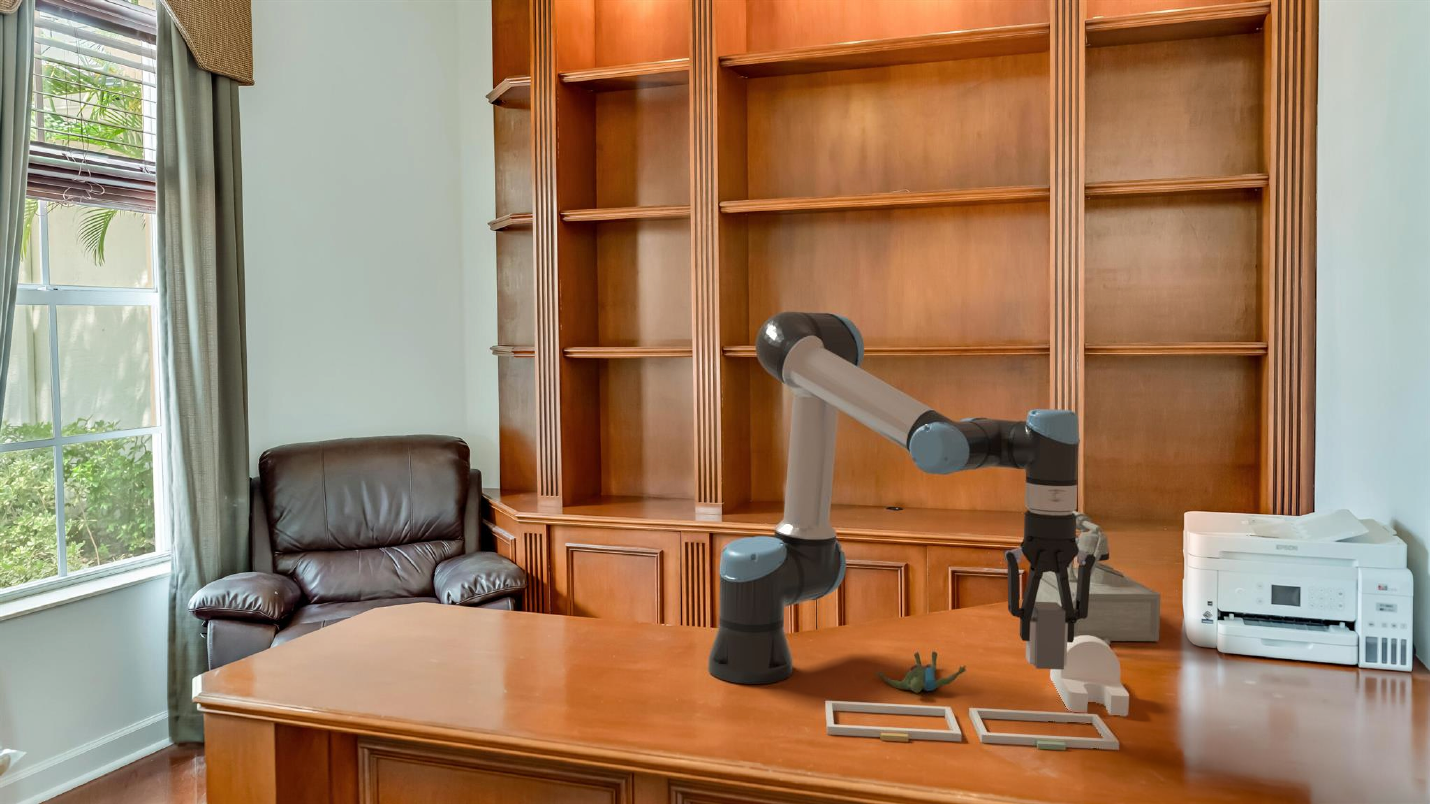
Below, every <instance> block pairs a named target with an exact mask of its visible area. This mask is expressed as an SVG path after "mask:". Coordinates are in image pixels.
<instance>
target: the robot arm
mask: <svg viewBox="0 0 1430 804" xmlns="http://www.w3.org/2000/svg"><path fill="white" fill-rule="evenodd" d="M756 334H757V335H756V339H755V353H756V354H755V355H756V357H757V360H758V362H759V364H760V365H761V367H762V368H763V369H764V370H765V371H766V372H767V373H768V374H770V375H771V376H772V377H773V378H775V379H777V380H778V381H780V382H782V383H784V384H785V385H786V386H787V387H788V389H789V390H790V391H791V392H792V394H793V396H792V408H791V418H790V419H791V420H790V433H789V434H790V435H789V445H788V446H789V447H788V459H787V474H786V485H785V486H786V487H785V497H784V510H783V519H781V521H780V522H779V523H778V524H776V525H775V527H774V534H773V535H774V537H773V536H763V535H762V536H761V535H759V536H758V535H756V536H754V537H751V536H750V537H749V536H748V537H743V538H739V539H735V540H733V541H731V542H729V543H727V544H726V545H725V546H724V547H723V549H722V550H721V555H720V556H721V557H720V564H719V568H718V570H719V607H718V608H719V610H718V611H719V614H718V615H719V619H718V620H719V621H718V629H717V633H716V635H715V638H714V640H713V644H712V647H711V649H710V653H709V655H708V672H709V673H710V674H711V675H712V676H714V677H715V678H717V679H720V680H722V681H727V682H731V683H735V684H736V683H737V684H746V685H760V684H762V685H764V684H771V683H776V682H782V681H784V680H787V679H789V677H791V676H792V674H793V663H794V662H793V657H792V654H791V649H790V647H789V643H788V640H787V637H786V636H787V635H786V633H785V629H784V627H785V625H784V624H785V607H789V606H792V605H796V604H800V603H805V602H808V601H816V600H819V599H821V598H822V599H823V597H826V596H828V595H830V594H831V593H833V592H834V591H835V590H836V589H837V588H839V586H840V585H841V583H842V582H843V580H844V577H845V574H846V569H847V559H846V554H845V552H844V551H843V550H842V546H841V544H840V543H839V541H838V540H837V530H835V529H834V527H833V526H832V525H831V523H830V519H831V518H830V516H831V505H832V491H833V481H834V480H833V479H834V468H835V459H836V458H835V457H836V456H835V455H836V446H837V445H836V444H837V433H838V421H839V411H841V412H842V413H845V414H846V415H848V416H849V417H851V418H853V419H854V420H856V421H858V422H859V423H861V424H862V425H863V426H864V425H865V427H868V428H869V429H871V430H872V431H874V432H875V433H877V434H879V435H881V436H882V437H884V438H885V439H887V440H889V441H891V442H892V443H894V444H896V445H898V446H899V447H900V448H902V449H903V450H905V451H907V452H908V453H909V455H910V457H911V460H912V461H913V463H914V465H915V466H916V467H917V468H918V469H919V470H920V471H922V472H924V473H927V474H929V475H931V474H932V475H950V474H953V473H959V472H963V471H964V472H965V471H971V470H978V469H979V470H980V469H986V468H1007V469H1017V470H1025V492H1024V493H1025V495H1024V506H1025V507H1026V508H1027V509H1028V510H1026V511H1025V512H1024V518H1023V519H1024V522H1023V523H1024V525H1023V539H1022V541H1021V543H1020V545H1019V547H1017V548H1013V549H1011V550H1010V549H1005V550H1004V551H1003V553H1002V554H1003V557H1004V560H1005V562H1006V564H1007V611H1008V612H1009V613H1010V615H1011V616H1013V617H1016V618H1019V621H1020V622H1019V637H1020V639H1021V640H1022V641H1023V642H1025V660H1026V661H1027V663H1028V664H1029V665H1034V664H1035V637H1036V622H1035V621H1034V619H1033V618H1032V613H1033V609H1034V604H1035V600H1036V596H1037V592H1038V588H1039V584H1040V580H1041V578H1042V576H1043V572H1049V571H1051V572H1055V575H1056V578H1057V584H1058V589H1059V595H1060V600H1061V606H1062V608H1063V609H1064V610H1065V644H1064V665H1067V642H1071V643H1072V642H1073V640H1074V624H1075V623H1076V621H1077V620H1078V619H1085V618H1087V616H1088V604H1089V590H1090V576H1091V569H1092V567H1093V565H1094V563H1095V560H1096V557H1095V556H1094V555H1092V554H1091V553H1089V552H1084V551H1081V550H1079V548H1078V546H1077V543H1076V534H1077V529H1076V517H1077V516H1076V515H1075V514H1074V513H1072V511H1076V510H1077V507H1078V506H1077V505H1078V504H1077V502H1078V466H1079V465H1078V464H1079V450H1080V449H1079V447H1080V443H1081V439H1080V428H1079V426H1080V425H1079V417H1078V415H1077V413H1076V412H1074V411H1073V410H1068V409H1047V408H1037V409H1036V408H1035V409H1030V411H1028V413H1027V416H1026V419H1025V420H1009V419H1008V420H1007V419H996V418H987V417H982V416H981V417H966V418H963V419H961V420H960V421H956V420H953V419H950V418H949V417H947V416H946V415H944V414H942V413H939V412H938V411H936V410H935V409H933V408H931V407H930V406H929V405H926V404H924V403H922V402H921V401H919V400H918V399H915V398H914V397H912V396H910V395H908V394H906V393H905V392H903V391H901V390H900V389H898V388H896V387H894V386H892V385H891V384H889V383H887V382H886V381H884V380H882V379H880V378H878V377H876V376H875V375H873V374H871V373H869V372H867V371H866V370H865V369H862V368H860V366H861V364H862V363H863V360H864V356H865V344H864V338H863V336H862V333H861V332H860V329H859V328H858V327H857V326H856V324H855V323H854V322H853V320H851V319H850V318H848V317H846V316H843V315H840V314H834V313H829V312H805V311H804V312H802V311H800V312H799V311H783V312H779V313H777V314H775V315H772V316H771V317H769V318H768V319H767V320H766V321H765V322H764V323H763V324H762V325H761V327H760V328H759V331H758V333H756ZM1022 556H1024V558H1025V559H1026V560H1027V562H1028V563H1029V568H1028V576H1027V577H1028V578H1027V581H1026V586H1025V590H1024V594H1023V598H1022V602H1021V606H1020V569H1019V564H1020V563H1021V562H1022ZM1075 558H1076V562H1077V564H1078V567H1077V568H1078V578H1077V592H1076V606H1075V609H1074V608H1073V602H1072V597H1071V591H1070V586H1069V580H1068V578H1069V576H1068V570H1067V567H1069V564H1070V563H1071V562H1072V561H1073V559H1074V560H1075ZM837 590H838V589H837Z"/></svg>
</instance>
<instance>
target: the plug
mask: <svg viewBox="0 0 1430 804" xmlns="http://www.w3.org/2000/svg"><path fill="white" fill-rule="evenodd" d="M1032 618H1033V619H1034V621H1035V622H1036V637H1035V664H1033V666H1034V667H1035V668H1036V669H1039V670H1041V669H1042V670H1043V669H1044V670H1051V669H1063V670H1064V644H1065V610H1064V609H1063V608H1062V607H1061V606H1060V605H1059V604H1058V603H1057V602H1035V604H1034V609H1033V613H1032Z"/></svg>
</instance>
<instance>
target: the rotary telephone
mask: <svg viewBox="0 0 1430 804" xmlns="http://www.w3.org/2000/svg"><path fill="white" fill-rule="evenodd" d="M1072 513H1074V514H1075V515H1076V516H1077V517H1076V531H1080V534H1077V533H1076V543H1077V546H1078V548H1079V550H1081V551H1084V552H1089V553H1091V554H1092V555H1094V556H1095V557H1096V560H1095V563H1094V565H1093V567H1092V569H1091V576H1090V590H1089V604H1088V616H1087V618H1085V619H1078V620H1077V621H1076V623H1075V624H1074V637H1077V636H1083V635H1089V636H1094V637H1097V638H1099V639H1101V640H1103V641H1104V642H1105V643H1107V644H1108V645H1109V646H1110V644H1111V642H1113V641H1114V642H1159V639H1160V638H1159V637H1160V619H1161V618H1160V617H1161V616H1160V614H1161V595H1162V594H1161V593H1159V592H1157V591H1156V590H1153V589H1151V588H1150V587H1147V586H1145V585H1144V584H1142V583H1140V582H1139V581H1137V580H1134V579H1133V578H1131V577H1129V576H1127V575H1125V574H1124V573H1122V572H1120V571H1119V570H1116V569H1114V567H1112V566H1111V565H1109V564H1108V563H1104V561H1107V560H1109V559H1110V548H1109V543H1108V536H1107V534H1105V533H1102V532H1103V528H1102V527H1101V526H1100V525H1097V524H1095V523H1092V520H1093V519H1092V518H1090V516H1088V515H1087V514H1086V513H1082V512H1079V511H1076V510H1075V511H1072ZM1087 530H1089V531H1087ZM1101 561H1103V563H1102V562H1101ZM1074 562H1075V558H1074V559H1073V561H1072V562H1071V563H1070V564H1069V566H1068V567H1067V570H1068V576H1069V578H1068V580H1069V586H1070V591H1071V597H1072V602H1073V608H1074V609H1075V606H1076V592H1077V578H1078V567H1076V566H1074V564H1075V563H1074ZM1035 602H1057V603H1058V604H1059V605H1060V606H1061V600H1060V595H1059V589H1058V584H1057V578H1056V575H1055V572H1051V571H1049V572H1043V576H1042V578H1041V580H1040V584H1039V588H1038V592H1037V596H1036V600H1035ZM1061 607H1062V606H1061Z"/></svg>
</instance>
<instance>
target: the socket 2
mask: <svg viewBox="0 0 1430 804" xmlns="http://www.w3.org/2000/svg"><path fill="white" fill-rule="evenodd" d="M968 709H969V710H968V715H969V719H970V721H971V722H972V725H973V726H974V729H975V731H976V734H977V736H978V738H979V740H980V743H982V744H983V743H985V744H1000V745H1002V744H1003V745H1004V744H1005V745H1021V746H1022V745H1023V746H1024V745H1025V746H1036V748H1037V749H1038V750H1053V751H1054V750H1057V751H1066V749H1067V748H1079V749H1093V748H1097V749H1098V748H1099V750H1114V751H1116V750H1117V751H1119V750H1120V741H1119V740H1118V739H1117V737H1116V736H1115V735H1114V734H1113V732H1112V730H1110V729H1109V727H1108V726H1107V725H1106V724H1105V722H1104V721H1103V720H1102V718H1101V717H1100V716H1099V714H1098V713H1097V714H1096V713H1074V712H1058V711H1057V712H1056V711H1041V710H1040V711H1039V710H1038V711H1036V710H1017V709H999V708H997V709H996V708H981V707H980V708H977V707H976V708H975V707H969V708H968ZM982 719H991V720H993V719H994V720H1012V721H1031V722H1032V721H1033V722H1048V721H1053V722H1054V721H1055V722H1054V723H1067V722H1090V723H1093V724H1092V726H1093V725H1094V726H1095V727H1096V728H1095V727H1094V726H1093V727H1094V728H1095V730H1096V729H1097V730H1098V731H1097V730H1096V731H1097V732H1098V733H1099V735H1100V734H1101V735H1100V736H1101V737H1102V738H1100V737H1081V736H1079V737H1078V736H1063V735H1060V736H1059V735H1041V734H1039V735H1038V734H1027V733H1026V734H1023V733H1007V732H1006V733H1004V732H1003V733H1002V732H988V731H987V729H986V727H985V724H984V723H983V721H982ZM1053 722H1052V723H1053Z"/></svg>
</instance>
